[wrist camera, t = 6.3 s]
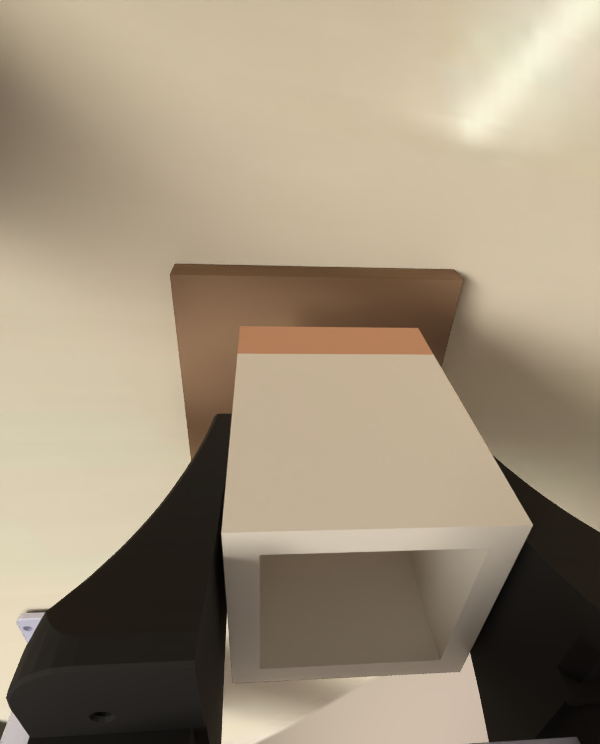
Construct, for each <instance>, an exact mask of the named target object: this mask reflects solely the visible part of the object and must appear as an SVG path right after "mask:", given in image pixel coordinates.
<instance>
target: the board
mask: <svg viewBox="0 0 600 744" xmlns="http://www.w3.org/2000/svg"><path fill="white" fill-rule="evenodd" d="M170 280H171V288H172V297H173V306H174V315H175V323H176V332H177V341H178V349H179V358H180V367H181V376H182V384H183V393H184V402H185V411H186V419H187V428H188V437H189V445H190V454H191V460H192V459H193V457H194V455H195V454H196V452H197V450H198V449H199V447H200V445H201V443H202V441H203V440H204V438H205V436H206V434H207V432H208V430H209V428H210V425H211V423H212V420H213V418H214V416H215V415H217V414H229V413H232V409H233V398H234V387H235V376H236V365H237V354H238V343H239V331H240V326H270V327H369V328H418V329H419V331H420V332H421V334H422V336H423V337H424V339H425V341H426V343H427V344H428V346H429V348H430V349H431V351H432V353H433V355H434V356H435V358H436V360H437V361H438V363H439V365H440V366H441V367H442V363H443V359H444V355H445V351H446V347H447V343H448V339H449V335H450V331H451V327H452V323H453V320H454V316H455V312H456V308H457V304H458V300H459V296H460V292H461V288H462V284H463V279H462V278H461V277H460V276H459V275H458V274H457V273H456V272H455V270H451V269H401V268H352V267H302V266H253V265H203V264H174V267H173V269H172V271H171V274H170Z"/></svg>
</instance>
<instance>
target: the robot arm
mask: <svg viewBox="0 0 600 744" xmlns="http://www.w3.org/2000/svg"><path fill="white" fill-rule="evenodd" d="M231 420H232V413H229V414H217V415H215V416H214V418H213V420H212V423H211V425H210V428H209V430H208V432H207V434H206V436H205V438H204V440H203V441H202V443H201V445H200V447H199V449H198V450H197V452H196V454H195V455H194V457H193V459H192V460H191V462H190V464H189V465H188V467H187V468H186V470H185V471H184V473H183V474H182V476H181V477H180V479H179V480H178V481H177V483H176V484H175V486H174V487H173V489H172V490H171V491H170V493H169V494H168V495H167V497H166V498H165V499H164V501H163V502H162V503H161V504H160V506H159V507H158V508H157V509H156V510H155V512H154V513H153V514H152V515H151V516H150V518H149V519H148V520H147V521H146V522H145V523H144V524H143V525H142V526H141V527H140V529H139V530H138V531H137V532H136V533H135V534H134V535H133V536H132V537H131V538H130V539H129V540H128V541H127V542H126V543H125V544H124V545H123V546H122V547H121V548H120V549H119V550H118V551H117V552H116V553H115V554H114V555H113V556H112V557H111V558H110V559H108V560H107V561H106V562H105V563H104V564H103V565H102V566H101V567H100V568H99V569H98V570H96V571H95V572H94V573H93V574H92V575H91V576H90V577H89V578H87V579H86V580H85V581H84V582H83V583H81V584H80V585H79V586H78V587H76V588H75V589H74V590H73V591H71V592H70V593H69V594H68V595H66V596H65V597H64V598H63V599H61V600H60V601H59V602H58V603H56V604H55V605H54V606H53V607H51V608H50V609H49V610H47V611H46V612H38V613H23V614H21V615H20V616H19V617H18V619H17V625H18V627H19V629H20V630H21V632H22V634H23V636H24V638H25V640H26V641H27V643H28V644H27V646H26V648H25V650H24V652H23V654H22V657H21V659H20V662H19V664H18V667H17V669H16V672H15V674H14V677H13V679H12V682H11V684H10V687H9V689H8V693H7V697H6V699H7V701H8V704H9V707H10V709H11V711H12V712H11V715H10V717H9V720H8V722H7V725H6V728H5V730H4V733H3V735H2V738H1V740H0V744H221V735H222V709H223V685H224V662H225V641H226V621H227V602H226V589H225V575H224V562H223V549H222V535H221V531H222V520H223V509H224V498H225V487H226V476H227V465H228V453H229V442H230V431H231ZM492 456H493V455H492ZM493 457H494V456H493ZM494 459H495V461H496V462H497V464H498V466H499V468H500V469H501V471H502V473H503V474H504V476H505V478H506V479H507V481H508V483H509V485H510V486H511V488H512V490H513V491H514V493H515V495H516V497H517V498H518V500H519V502H520V503H521V505H522V507H523V509H524V510H525V512H526V514H527V515H528V517H529V519H530V521H531V522H532V524H533V526H532V528H531V530H530V532H529V534H528V536H527V538H526V540H525V542H524V544H523V546H522V548H521V550H520V552H519V554H518V556H517V558H516V560H515V562H514V564H513V566H512V568H511V570H510V572H509V574H508V576H507V578H506V580H505V582H504V584H503V587H502V589H501V591H500V593H499V595H498V597H497V599H496V601H495V603H494V605H493V607H492V609H491V611H490V613H489V615H488V617H487V619H486V621H485V623H484V625H483V627H482V629H481V631H480V633H479V635H478V637H477V639H476V641H475V643H474V645H473V647H472V649H471V651H470V654H471V658H472V663H473V667H474V671H475V676H476V680H477V685H478V689H479V693H480V699H481V704H482V708H483V714H484V718H485V724H486V729H487V734H488V739H489V743H472V744H600V532H598V531H597V530H595V529H593V528H592V527H590V526H588V525H587V524H585V523H583V522H582V521H580V520H578V519H577V518H575V517H574V516H572V515H571V514H569V513H567V512H566V511H564V510H563V509H561V508H560V507H559V506H557V505H556V504H554V503H553V502H551V501H550V500H548V499H547V498H546V497H544V496H543V495H541V494H540V493H539V492H537V491H536V490H535V489H533V488H532V487H531V486H529V485H528V484H527V483H525V482H524V481H523V480H522V479H520V478H519V477H518V476H517V475H515V474H514V473H513V472H512V471H510V470H509V469H508V468H507V467H506V466H504V465H503V464H502V463H501V462H500V461H499V460H497V459H496V458H495V457H494Z"/></svg>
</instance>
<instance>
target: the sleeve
mask: <svg viewBox="0 0 600 744" xmlns="http://www.w3.org/2000/svg"><path fill="white" fill-rule="evenodd" d="M532 526H533V524H532V522H531V521H530V519H529V517H528V515H527V514H526V512H525V510H524V509H523V507H522V505H521V503H520V502H519V500H518V498H517V497H516V495H515V493H514V491H513V490H512V488H511V486H510V485H509V483H508V481H507V479H506V478H505V476H504V474H503V473H502V471H501V469H500V468H499V466H498V464H497V462H496V461H495V459H494V457H493V456H492V454H491V452H490V450H489V449H488V447H487V445H486V444H485V442H484V440H483V438H482V437H481V435H480V433H479V432H478V430H477V428H476V426H475V425H474V423H473V421H472V420H471V418H470V416H469V414H468V413H467V411H466V409H465V408H464V406H463V404H462V402H461V401H460V399H459V397H458V396H457V394H456V392H455V390H454V389H453V387H452V385H451V384H450V382H449V380H448V378H447V377H446V375H445V373H444V372H443V370H442V368H441V366H440V365H439V363H438V361H437V360H436V358H435V356H434V355H433V353H432V351H431V349H430V348H429V346H428V344H427V343H426V341H425V339H424V337H423V336H422V334H421V332H420V331H419V329H418V328H369V327H270V326H240V331H239V343H238V354H237V365H236V376H235V387H234V398H233V409H232V420H231V431H230V442H229V453H228V465H227V476H226V487H225V498H224V509H223V520H222V531H221V535H222V549H223V562H224V575H225V589H226V602H227V616H228V629H229V642H230V656H231V669H232V683H250V682H270V681H289V680H309V679H328V678H348V677H367V676H387V675H407V674H424V673H425V674H426V673H445V672H460V670H461V669H462V667H463V665H464V663H465V661H466V659H467V657H468V655H469V653H470V651H471V649H472V647H473V645H474V643H475V641H476V639H477V637H478V635H479V633H480V631H481V629H482V627H483V625H484V623H485V621H486V619H487V617H488V615H489V613H490V611H491V609H492V607H493V605H494V603H495V601H496V599H497V597H498V595H499V593H500V591H501V589H502V587H503V584H504V582H505V580H506V578H507V576H508V574H509V572H510V570H511V568H512V566H513V564H514V562H515V560H516V558H517V556H518V554H519V552H520V550H521V548H522V546H523V544H524V542H525V540H526V538H527V536H528V534H529V532H530V530H531V528H532Z"/></svg>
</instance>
